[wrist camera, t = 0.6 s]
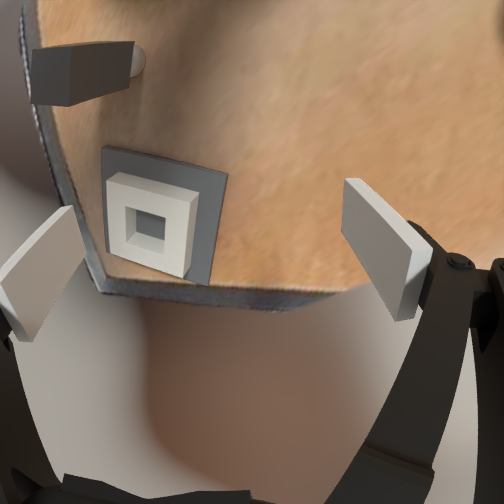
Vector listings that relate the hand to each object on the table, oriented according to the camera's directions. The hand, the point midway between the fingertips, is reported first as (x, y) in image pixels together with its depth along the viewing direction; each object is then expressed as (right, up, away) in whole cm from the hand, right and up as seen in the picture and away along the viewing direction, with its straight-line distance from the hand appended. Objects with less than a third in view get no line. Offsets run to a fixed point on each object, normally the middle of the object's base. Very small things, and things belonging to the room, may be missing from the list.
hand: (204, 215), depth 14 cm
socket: (-11, +3, +29) cm, 32 cm away
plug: (-13, +21, +17) cm, 30 cm away
